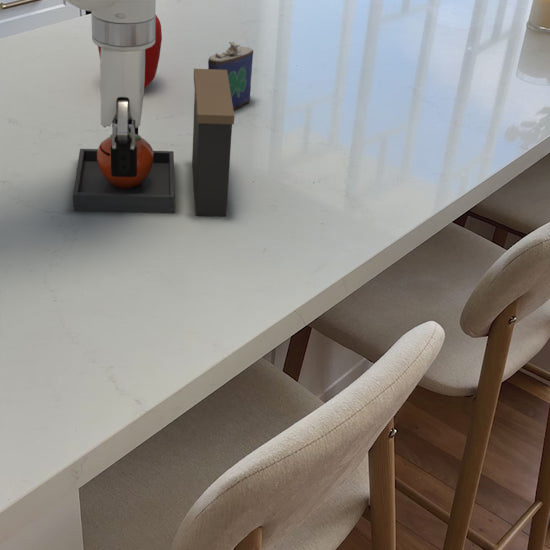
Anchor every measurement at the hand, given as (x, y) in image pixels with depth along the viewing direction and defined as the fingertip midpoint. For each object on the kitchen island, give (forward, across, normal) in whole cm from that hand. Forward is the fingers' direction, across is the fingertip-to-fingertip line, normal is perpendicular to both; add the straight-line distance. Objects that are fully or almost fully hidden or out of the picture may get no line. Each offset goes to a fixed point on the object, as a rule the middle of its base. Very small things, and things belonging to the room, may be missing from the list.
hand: (125, 159), depth 116 cm
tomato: (+4, 0, 0) cm, 4 cm away
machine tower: (+4, 0, +11) cm, 12 cm away
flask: (+4, -27, +16) cm, 32 cm away
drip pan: (+4, 0, 0) cm, 4 cm away
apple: (+4, -34, 0) cm, 34 cm away
